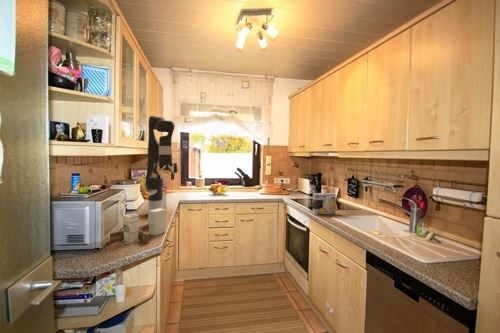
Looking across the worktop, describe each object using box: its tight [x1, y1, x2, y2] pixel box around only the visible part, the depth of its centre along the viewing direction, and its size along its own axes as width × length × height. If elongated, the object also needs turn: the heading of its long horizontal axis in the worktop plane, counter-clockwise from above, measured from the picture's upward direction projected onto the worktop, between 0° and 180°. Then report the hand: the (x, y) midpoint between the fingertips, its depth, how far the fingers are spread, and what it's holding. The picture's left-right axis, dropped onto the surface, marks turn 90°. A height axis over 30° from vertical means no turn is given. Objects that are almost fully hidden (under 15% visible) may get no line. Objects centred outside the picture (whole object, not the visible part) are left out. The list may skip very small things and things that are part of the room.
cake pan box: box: [312, 192, 337, 216], centre depth 218 cm, size 19×5×18 cm, turn 94°
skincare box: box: [148, 208, 167, 237], centre depth 161 cm, size 8×6×15 cm
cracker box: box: [147, 187, 167, 211], centre depth 211 cm, size 14×6×21 cm, turn 66°
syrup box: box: [122, 213, 139, 242], centre depth 147 cm, size 6×6×14 cm
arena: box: [107, 228, 150, 245], centre depth 144 cm, size 16×16×5 cm
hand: (165, 180), depth 159 cm, fingers open, 8 cm apart
